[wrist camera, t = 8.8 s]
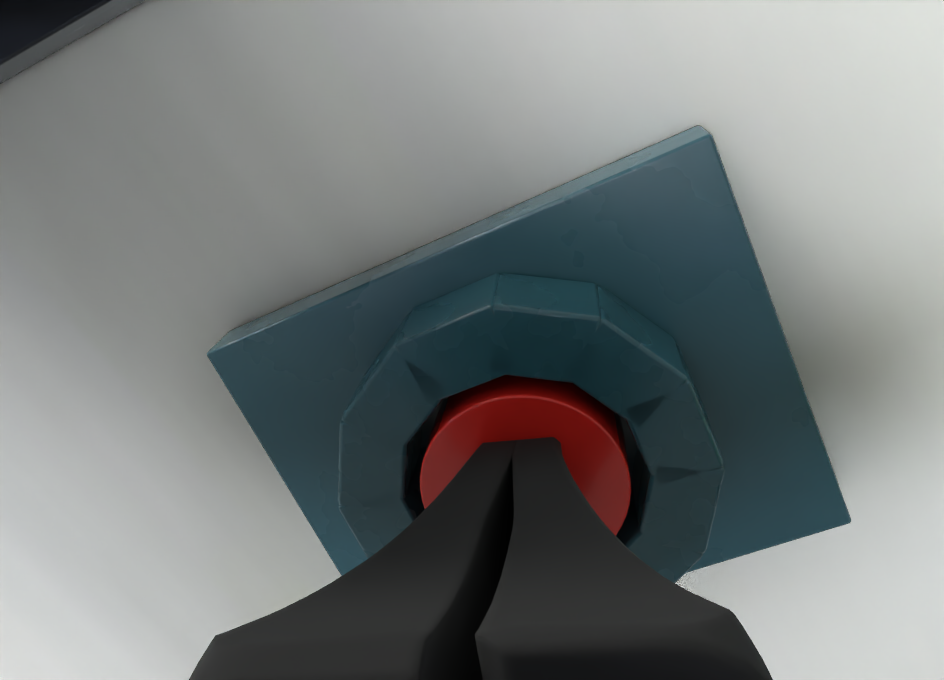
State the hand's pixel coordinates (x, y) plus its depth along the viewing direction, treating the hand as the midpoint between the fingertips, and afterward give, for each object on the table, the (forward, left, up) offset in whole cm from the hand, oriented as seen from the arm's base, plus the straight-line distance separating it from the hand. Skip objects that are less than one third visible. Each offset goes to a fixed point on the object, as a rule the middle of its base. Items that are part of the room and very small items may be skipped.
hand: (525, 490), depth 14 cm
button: (0, 0, -2) cm, 2 cm away
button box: (0, 0, -3) cm, 3 cm away
